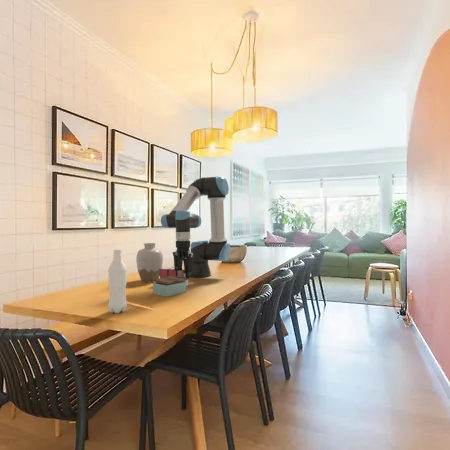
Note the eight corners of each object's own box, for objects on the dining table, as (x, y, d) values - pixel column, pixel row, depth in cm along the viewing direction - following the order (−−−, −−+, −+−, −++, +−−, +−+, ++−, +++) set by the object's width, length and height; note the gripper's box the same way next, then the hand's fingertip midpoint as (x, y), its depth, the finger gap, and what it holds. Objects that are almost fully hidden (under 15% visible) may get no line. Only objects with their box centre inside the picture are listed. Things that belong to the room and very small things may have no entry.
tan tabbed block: (179, 278, 176) (179, 268, 176) (193, 281, 169) (193, 270, 169) (152, 284, 161) (152, 273, 161) (167, 287, 155) (167, 275, 154)
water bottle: (104, 313, 130) (104, 250, 130) (116, 308, 137) (116, 249, 137) (119, 315, 128) (118, 251, 127) (130, 310, 134) (130, 249, 134)
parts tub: (172, 290, 171) (172, 279, 171) (186, 293, 165) (186, 281, 165) (153, 295, 161) (153, 283, 161) (166, 298, 155) (166, 285, 155)
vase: (161, 277, 210) (161, 242, 209) (164, 282, 195) (164, 243, 194) (135, 279, 205) (135, 242, 204) (137, 283, 190) (137, 244, 189)
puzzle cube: (176, 287, 180) (176, 269, 179) (159, 286, 182) (159, 268, 181) (182, 284, 189) (182, 266, 189) (166, 283, 191) (166, 266, 191)
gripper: (166, 239, 172) (167, 284, 173) (189, 241, 162) (189, 288, 163) (177, 239, 178) (177, 281, 179) (199, 240, 168) (199, 285, 169)
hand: (183, 284), depth 171 cm, fingers closed on tan tabbed block, 3 cm apart
